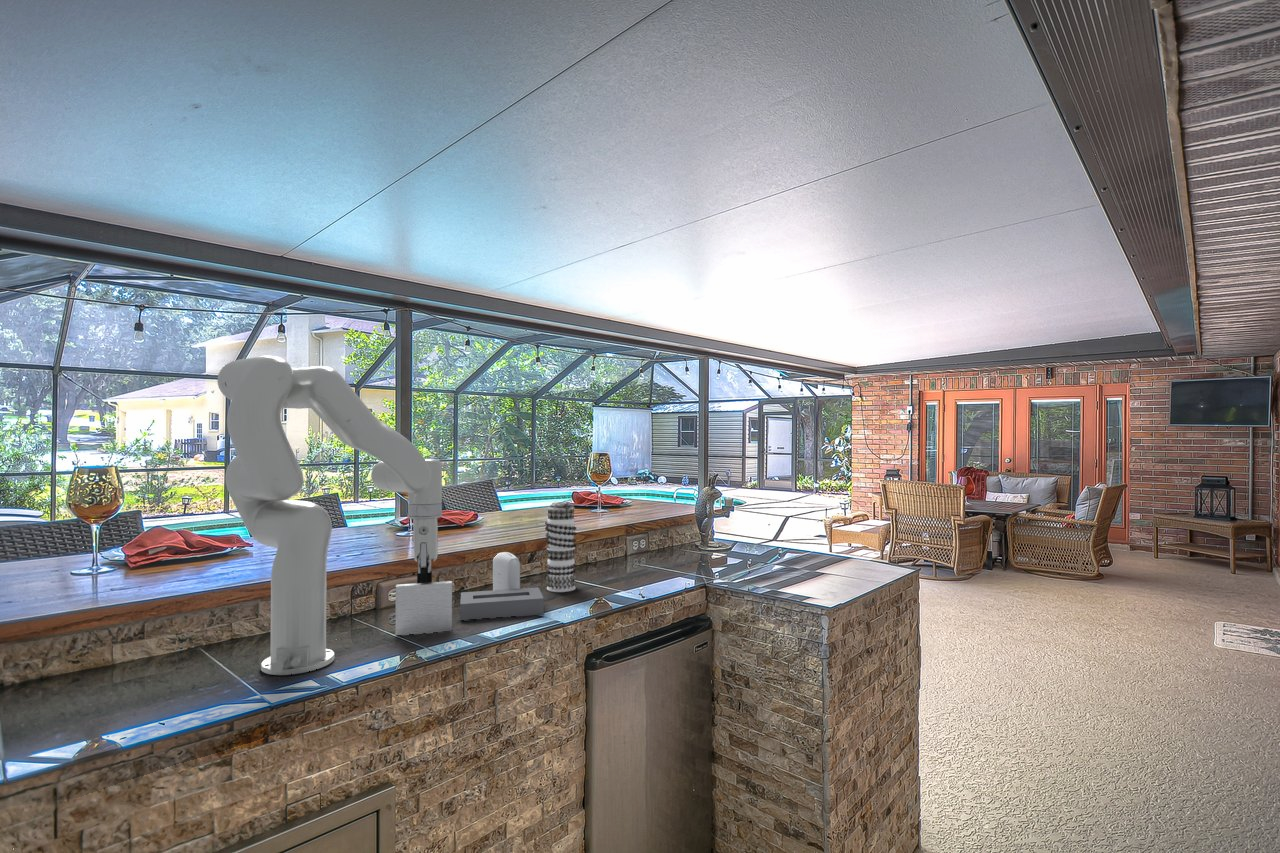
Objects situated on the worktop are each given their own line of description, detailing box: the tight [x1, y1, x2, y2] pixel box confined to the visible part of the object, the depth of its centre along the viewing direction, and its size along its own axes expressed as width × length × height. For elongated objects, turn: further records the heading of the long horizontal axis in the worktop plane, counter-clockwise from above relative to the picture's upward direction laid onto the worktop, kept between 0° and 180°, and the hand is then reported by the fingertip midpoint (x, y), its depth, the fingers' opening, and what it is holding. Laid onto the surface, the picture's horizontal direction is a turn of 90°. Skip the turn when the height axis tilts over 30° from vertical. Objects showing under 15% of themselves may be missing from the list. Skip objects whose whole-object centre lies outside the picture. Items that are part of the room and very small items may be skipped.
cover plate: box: [395, 580, 453, 636], centre depth 143 cm, size 2×12×11 cm, turn 106°
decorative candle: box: [544, 501, 577, 593], centre depth 184 cm, size 9×9×25 cm
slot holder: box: [459, 586, 545, 621], centre depth 160 cm, size 12×20×4 cm, turn 105°
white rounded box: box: [492, 551, 521, 590], centre depth 174 cm, size 10×4×12 cm, turn 39°
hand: (424, 589), depth 148 cm, fingers closed
